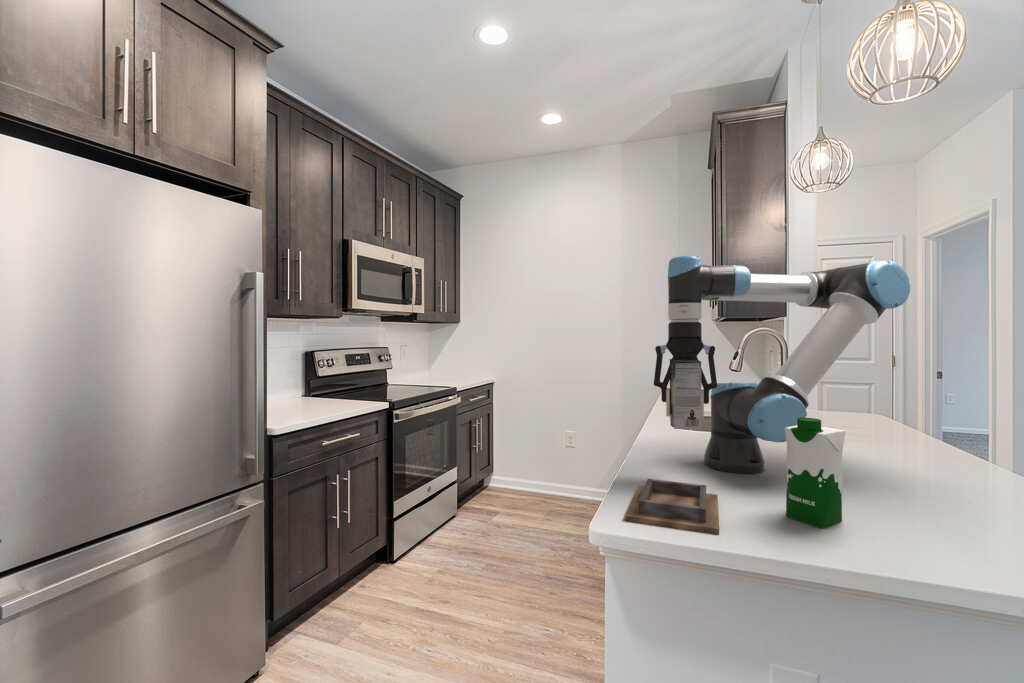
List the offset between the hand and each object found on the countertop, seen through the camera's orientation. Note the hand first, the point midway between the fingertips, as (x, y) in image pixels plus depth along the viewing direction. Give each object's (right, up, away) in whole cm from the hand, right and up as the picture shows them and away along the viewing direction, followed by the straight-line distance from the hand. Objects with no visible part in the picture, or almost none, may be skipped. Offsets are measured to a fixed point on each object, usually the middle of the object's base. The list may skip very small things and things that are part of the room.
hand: (685, 416), depth 117 cm
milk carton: (+18, -17, -21) cm, 33 cm away
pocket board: (-8, -17, -16) cm, 25 cm away
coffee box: (0, -3, 0) cm, 3 cm away
